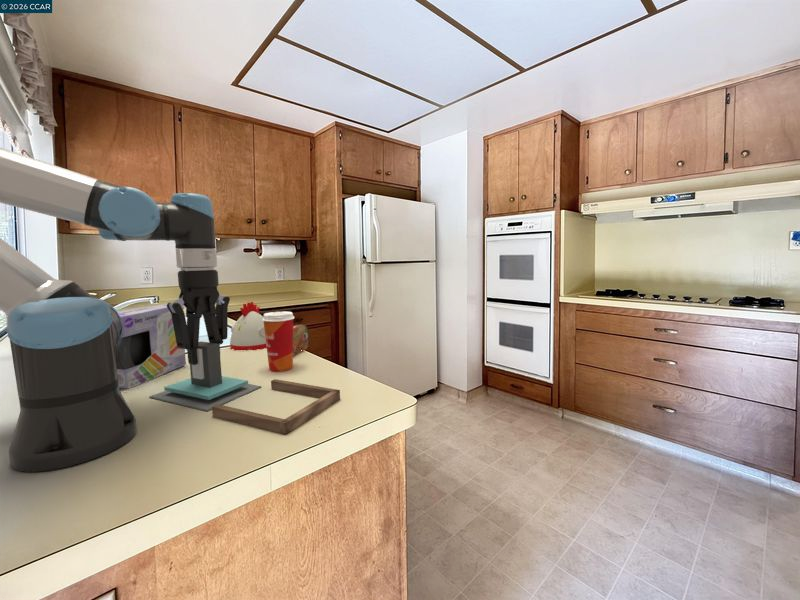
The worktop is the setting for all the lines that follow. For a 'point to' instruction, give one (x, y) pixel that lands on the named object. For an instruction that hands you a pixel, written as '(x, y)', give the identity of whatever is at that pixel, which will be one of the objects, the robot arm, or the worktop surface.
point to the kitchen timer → (248, 330)
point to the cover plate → (206, 391)
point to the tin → (300, 339)
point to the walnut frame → (278, 424)
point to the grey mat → (203, 403)
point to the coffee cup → (279, 340)
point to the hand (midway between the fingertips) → (206, 375)
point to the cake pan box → (146, 346)
